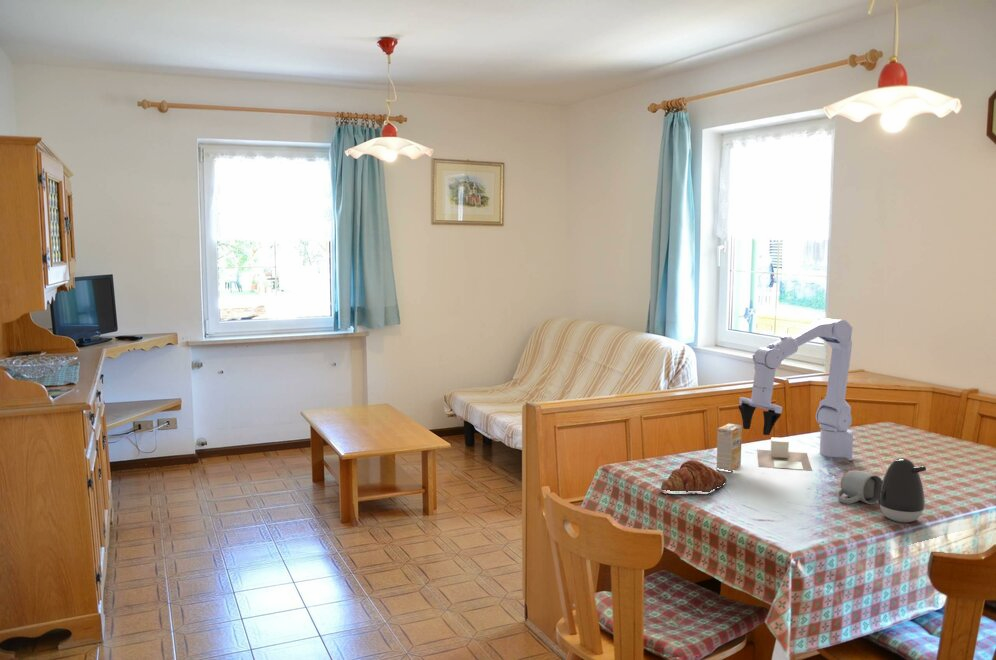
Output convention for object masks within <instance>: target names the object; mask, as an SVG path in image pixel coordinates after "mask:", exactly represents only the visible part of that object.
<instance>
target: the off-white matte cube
mask: <svg viewBox="0 0 996 660" xmlns="http://www.w3.org/2000/svg"><path fill="white" fill-rule="evenodd" d="M789 442H790V441H789V438H787V437H773V436H772V437H770V451H771V457H782V458H788V452H789V447H790V446H789Z"/></svg>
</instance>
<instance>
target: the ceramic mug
mask: <svg viewBox="0 0 996 660" xmlns="http://www.w3.org/2000/svg"><path fill="white" fill-rule="evenodd" d="M882 480H883V478H881V477H880V476H879V475H877V474H873V473H869V472H864V471H860V470H848V471H846V472H845V473H844V475H843V476H842V477H841V481H840V488H841V489H839V491H838V492H837V499H838V501H839V502H840V503H842V502H843V504H845V503H846V504H847V505H849V504H854V503H856V502H858V501H859V502H862V503H865V504H868V505H875V504H877V503H878V496H879V491H880V487H881V483H882ZM843 495H846V497H847V496H848V497H849V498H848V497H847V498H844V497H842V496H843Z"/></svg>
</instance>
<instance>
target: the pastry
mask: <svg viewBox="0 0 996 660" xmlns="http://www.w3.org/2000/svg"><path fill="white" fill-rule="evenodd" d="M724 483H725V484H726V483H727V478H726V476H725V475H724V474H723V472H722V471H717V470H715V469H714V468H713V467H709V466H707V465H705V464H704V463H703V462H700V461H698V460H693V459H692V460H686V461H685V462H683V463H682V464H681V465H680V467H679V468H675V469H673V470H672V471H671V474H670V475H669V477H668V478H667V479H666V480H664V481H663V482H662V483H661V487H660V490H661V489H662V490H666V491H667V490H670V491H686V492H688V491H702V492H710V491H711V490H713V489H716V488H717V487H720V486H721V487H723V486H722V485H723V484H724ZM721 487H720V488H721ZM717 489H718V488H717ZM717 489H716V490H717Z"/></svg>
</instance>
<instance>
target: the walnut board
mask: <svg viewBox="0 0 996 660" xmlns="http://www.w3.org/2000/svg"><path fill="white" fill-rule="evenodd" d="M756 453H757V465H758V468H767V469H780V470H781V469H782V470H792V471H793V470H794V471H795V470H796V471H805V472H808V471H809V472H812V471H813V469H812V465H811V462H810V459H809V456H808V453H807V452H797V451H796V452H795V451H788V458H782V457H771V449H769V450H766V449H757V451H756Z"/></svg>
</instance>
